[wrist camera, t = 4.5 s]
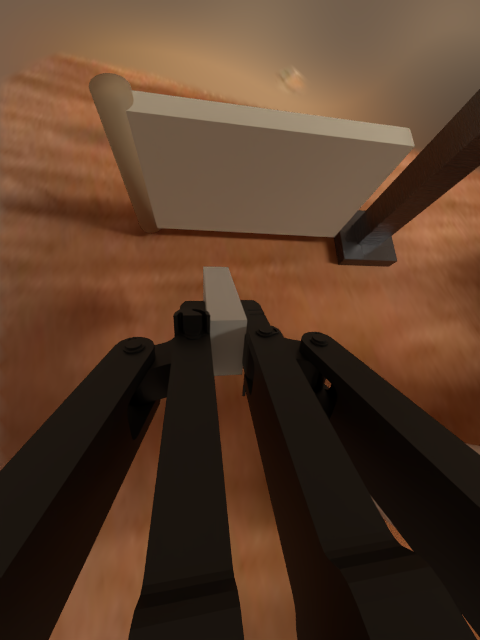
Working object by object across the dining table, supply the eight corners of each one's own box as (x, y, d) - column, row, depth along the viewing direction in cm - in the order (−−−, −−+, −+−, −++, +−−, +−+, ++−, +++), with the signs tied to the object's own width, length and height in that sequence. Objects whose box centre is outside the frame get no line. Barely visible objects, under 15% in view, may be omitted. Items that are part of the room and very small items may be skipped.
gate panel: (329, 225, 26) (415, 117, 16) (331, 242, 26) (422, 141, 15) (140, 213, 23) (91, 70, 13) (139, 232, 23) (86, 99, 12)
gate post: (378, 219, 29) (532, 74, 15) (388, 266, 27) (569, 149, 14) (330, 216, 28) (450, 58, 15) (338, 264, 26) (480, 137, 13)
